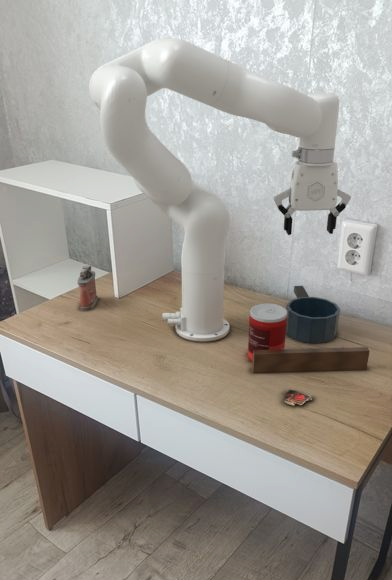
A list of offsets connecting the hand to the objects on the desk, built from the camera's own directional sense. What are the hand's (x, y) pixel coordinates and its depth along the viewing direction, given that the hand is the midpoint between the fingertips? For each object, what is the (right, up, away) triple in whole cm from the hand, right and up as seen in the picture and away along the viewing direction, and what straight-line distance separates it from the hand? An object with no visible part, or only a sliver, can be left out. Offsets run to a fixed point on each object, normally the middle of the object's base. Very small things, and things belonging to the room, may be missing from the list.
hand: (309, 232), depth 129 cm
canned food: (-11, -29, -10) cm, 33 cm away
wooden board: (-3, -31, -14) cm, 35 cm away
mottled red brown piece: (-7, -36, -24) cm, 44 cm away
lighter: (-54, -16, +14) cm, 57 cm away
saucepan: (0, -21, +4) cm, 21 cm away
